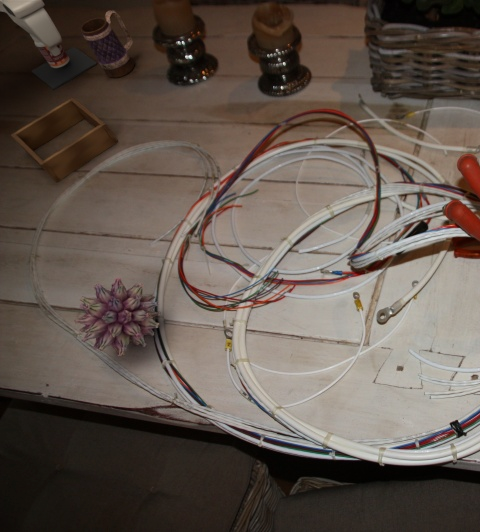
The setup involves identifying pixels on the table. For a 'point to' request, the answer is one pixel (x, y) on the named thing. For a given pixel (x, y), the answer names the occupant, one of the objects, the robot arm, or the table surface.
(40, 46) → the pill bottle
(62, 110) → the storage box
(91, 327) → the flower
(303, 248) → the table surface
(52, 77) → the mat
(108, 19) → the mug
